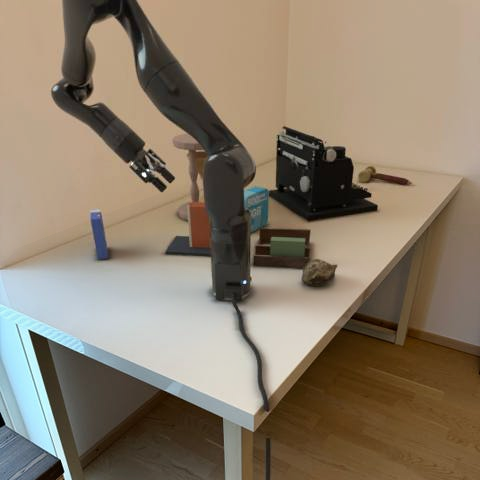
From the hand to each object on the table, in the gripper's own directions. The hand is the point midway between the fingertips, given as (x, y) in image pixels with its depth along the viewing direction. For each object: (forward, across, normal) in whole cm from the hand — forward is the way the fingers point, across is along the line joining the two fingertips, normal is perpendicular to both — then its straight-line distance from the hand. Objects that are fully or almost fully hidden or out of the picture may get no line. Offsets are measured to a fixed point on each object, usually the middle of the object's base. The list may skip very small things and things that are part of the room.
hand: (169, 185), depth 127 cm
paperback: (+36, +8, +11) cm, 39 cm away
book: (+19, 0, -5) cm, 20 cm away
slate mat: (+19, 0, -6) cm, 20 cm away
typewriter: (+43, -45, +18) cm, 65 cm away
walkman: (-1, +8, -26) cm, 27 cm away
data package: (+28, -17, +2) cm, 32 cm away
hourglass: (+15, -29, -11) cm, 34 cm away
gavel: (+62, -75, +37) cm, 104 cm away
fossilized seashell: (+42, +18, +17) cm, 49 cm away
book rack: (+35, +2, +10) cm, 37 cm away
